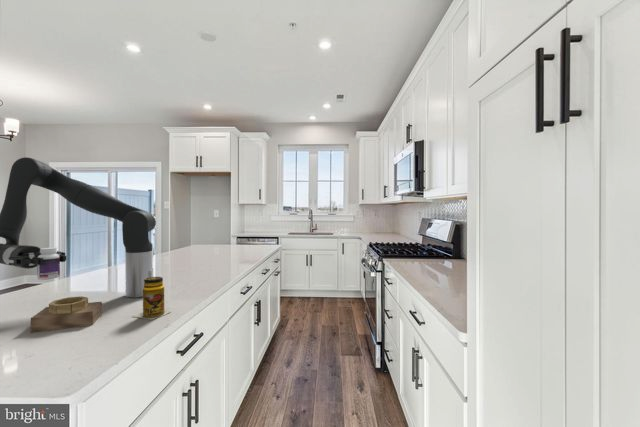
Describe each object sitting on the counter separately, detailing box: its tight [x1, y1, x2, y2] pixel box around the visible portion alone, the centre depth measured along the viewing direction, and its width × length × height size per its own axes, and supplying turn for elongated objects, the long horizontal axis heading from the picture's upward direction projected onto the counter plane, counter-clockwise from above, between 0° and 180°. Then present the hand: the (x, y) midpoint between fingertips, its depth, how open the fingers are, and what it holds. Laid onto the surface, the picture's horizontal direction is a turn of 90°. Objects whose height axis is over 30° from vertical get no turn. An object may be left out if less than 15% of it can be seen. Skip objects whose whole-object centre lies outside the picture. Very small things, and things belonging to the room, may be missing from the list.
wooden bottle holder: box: [30, 295, 103, 333], centre depth 90 cm, size 14×10×6 cm
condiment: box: [132, 276, 170, 321], centre depth 97 cm, size 7×8×12 cm
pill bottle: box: [36, 246, 61, 281], centre depth 97 cm, size 5×5×10 cm
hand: (53, 260), depth 96 cm, fingers closed on pill bottle, 5 cm apart
